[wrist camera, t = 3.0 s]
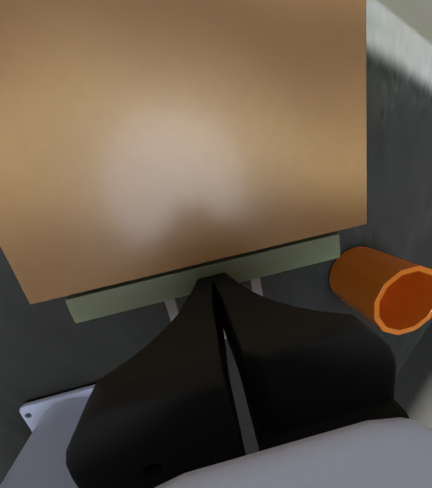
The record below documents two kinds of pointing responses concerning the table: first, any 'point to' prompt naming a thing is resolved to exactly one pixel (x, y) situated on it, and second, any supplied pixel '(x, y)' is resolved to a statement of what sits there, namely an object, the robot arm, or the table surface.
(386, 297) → the orange cup
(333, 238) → the drawer
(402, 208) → the table surface
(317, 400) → the robot arm
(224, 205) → the cabinet
